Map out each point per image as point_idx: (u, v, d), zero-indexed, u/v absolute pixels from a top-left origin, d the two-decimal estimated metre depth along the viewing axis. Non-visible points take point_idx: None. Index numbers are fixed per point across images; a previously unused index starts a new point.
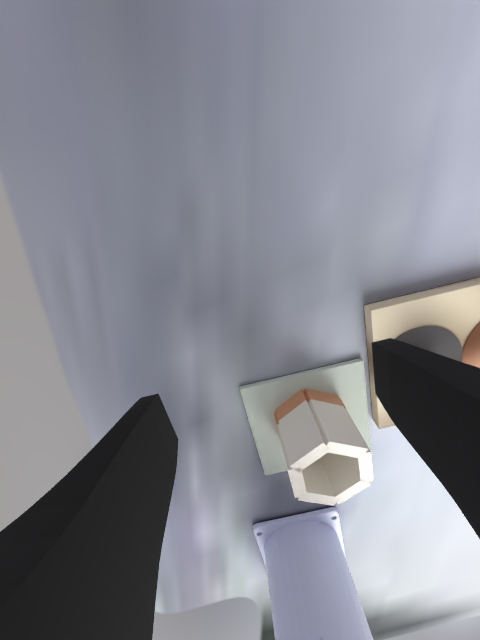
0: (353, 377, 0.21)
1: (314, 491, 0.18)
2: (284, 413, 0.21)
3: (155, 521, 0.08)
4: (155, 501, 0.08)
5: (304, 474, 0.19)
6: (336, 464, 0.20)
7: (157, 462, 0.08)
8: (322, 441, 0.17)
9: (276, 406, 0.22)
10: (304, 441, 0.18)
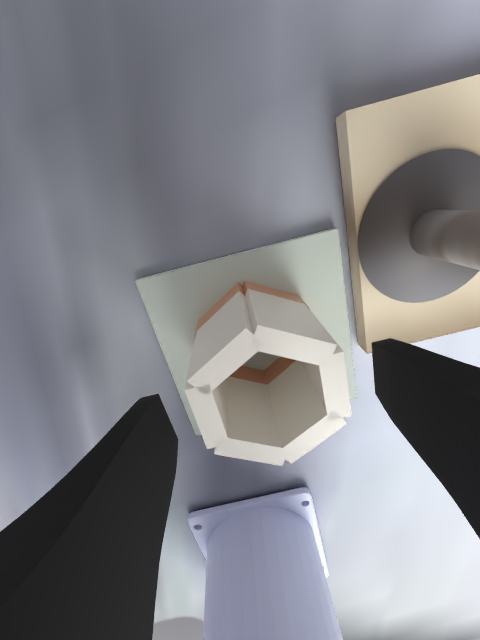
0: (322, 261, 0.13)
1: (243, 437, 0.10)
2: (207, 318, 0.12)
3: (155, 521, 0.08)
4: (155, 501, 0.08)
5: (233, 413, 0.11)
6: (291, 398, 0.12)
7: (157, 462, 0.08)
8: (246, 327, 0.08)
9: (200, 314, 0.13)
10: (219, 338, 0.09)
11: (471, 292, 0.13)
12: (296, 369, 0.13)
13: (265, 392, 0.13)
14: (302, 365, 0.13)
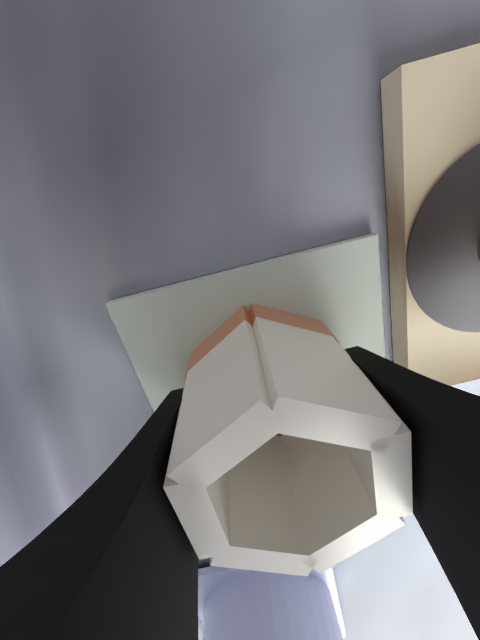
0: (355, 277, 0.10)
1: (253, 541, 0.07)
2: (201, 355, 0.09)
3: None
4: None
5: (236, 494, 0.08)
6: (316, 469, 0.08)
7: None
8: (259, 398, 0.05)
9: (192, 345, 0.10)
10: (217, 404, 0.06)
11: None
12: None
13: (278, 450, 0.10)
14: None
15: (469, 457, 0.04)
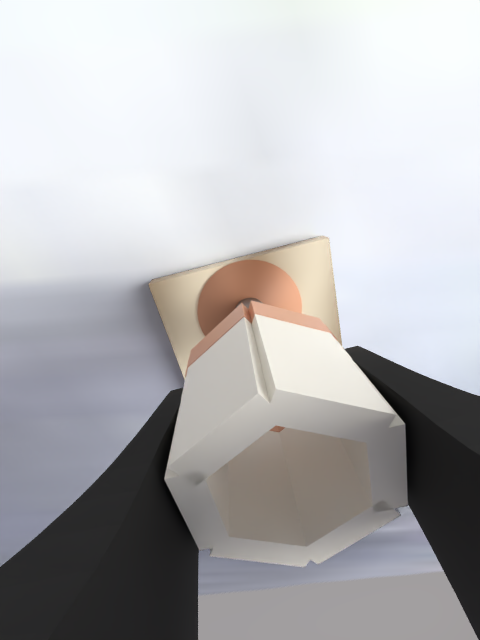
0: None
1: (251, 532, 0.07)
2: (201, 351, 0.09)
3: None
4: None
5: (236, 487, 0.08)
6: (314, 463, 0.09)
7: None
8: (257, 390, 0.05)
9: None
10: (217, 398, 0.06)
11: None
12: None
13: (277, 445, 0.10)
14: None
15: (468, 457, 0.04)
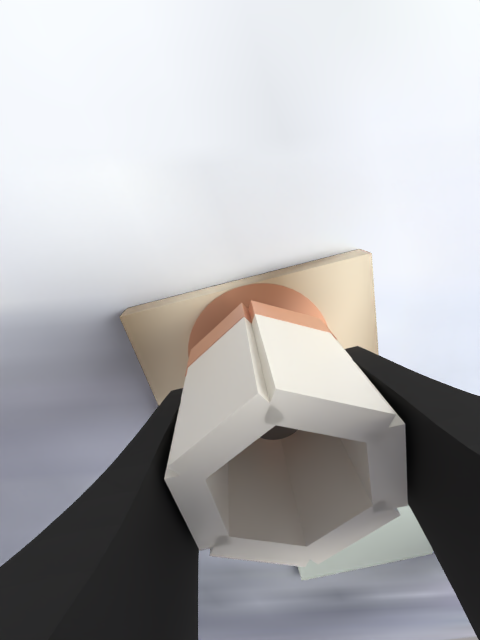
0: None
1: (251, 532, 0.07)
2: (201, 351, 0.09)
3: None
4: None
5: (235, 487, 0.08)
6: (314, 463, 0.09)
7: None
8: (257, 390, 0.05)
9: None
10: (217, 398, 0.06)
11: None
12: None
13: (277, 445, 0.10)
14: None
15: (468, 457, 0.04)
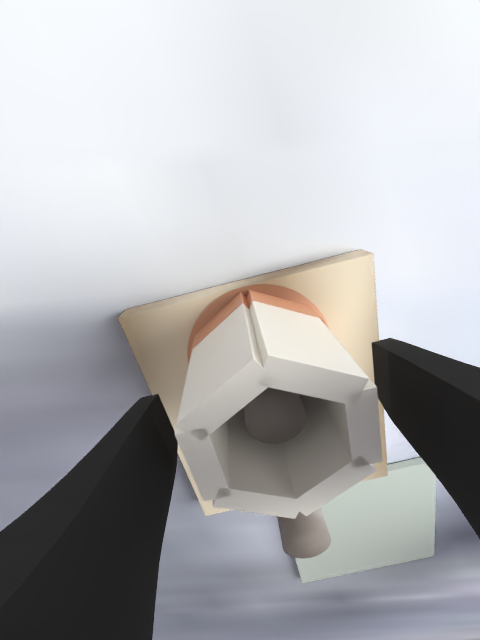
0: None
1: (248, 486, 0.08)
2: (204, 335, 0.11)
3: (155, 521, 0.08)
4: (155, 501, 0.08)
5: (235, 451, 0.09)
6: (304, 432, 0.10)
7: (157, 462, 0.08)
8: (252, 357, 0.07)
9: (330, 557, 0.19)
10: (219, 368, 0.08)
11: None
12: None
13: None
14: None
15: None
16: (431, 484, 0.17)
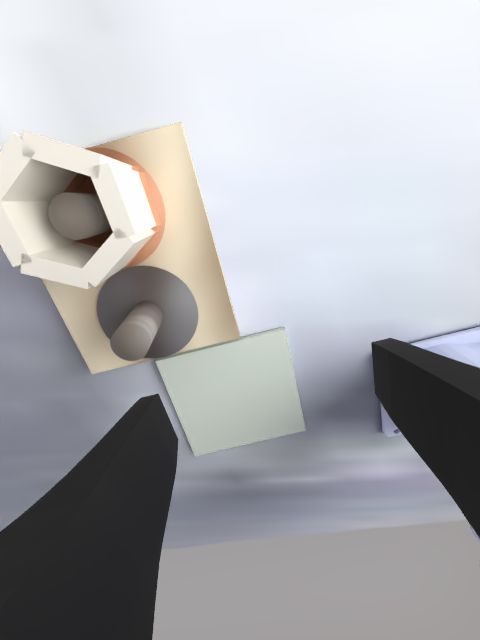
0: (176, 367, 0.20)
1: (46, 258, 0.11)
2: None
3: (155, 521, 0.08)
4: (155, 501, 0.08)
5: (52, 251, 0.12)
6: None
7: (157, 462, 0.08)
8: (16, 134, 0.10)
9: (213, 428, 0.22)
10: None
11: (188, 272, 0.17)
12: None
13: None
14: None
15: None
16: (286, 354, 0.20)
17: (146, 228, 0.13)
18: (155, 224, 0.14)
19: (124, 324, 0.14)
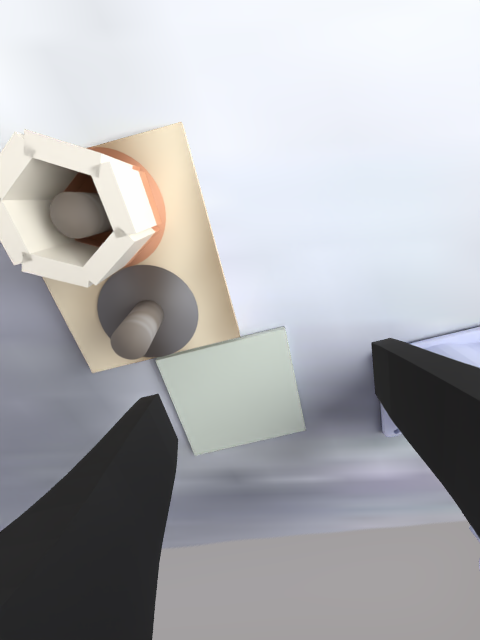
0: (176, 366, 0.20)
1: (47, 256, 0.12)
2: None
3: (155, 521, 0.08)
4: (155, 501, 0.08)
5: (53, 249, 0.12)
6: None
7: (157, 462, 0.08)
8: (18, 133, 0.10)
9: (213, 427, 0.22)
10: None
11: (188, 271, 0.17)
12: None
13: None
14: None
15: None
16: (286, 353, 0.20)
17: (146, 227, 0.13)
18: (155, 223, 0.15)
19: (124, 323, 0.14)
